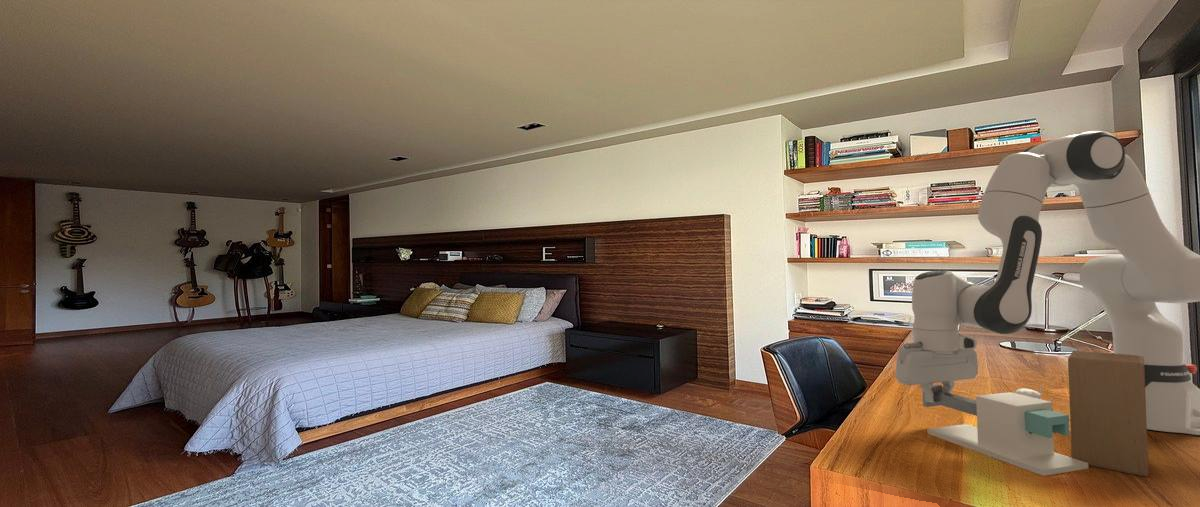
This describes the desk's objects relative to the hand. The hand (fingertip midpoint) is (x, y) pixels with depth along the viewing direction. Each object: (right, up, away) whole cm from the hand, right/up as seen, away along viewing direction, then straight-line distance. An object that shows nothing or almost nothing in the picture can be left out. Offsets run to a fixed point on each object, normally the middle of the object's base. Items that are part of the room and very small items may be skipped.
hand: (937, 401), depth 119 cm
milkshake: (+19, -6, -3) cm, 20 cm away
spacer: (+6, +3, -22) cm, 23 cm away
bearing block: (+4, -6, -14) cm, 15 cm away
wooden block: (+18, -6, -22) cm, 29 cm away
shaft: (+3, -1, -10) cm, 11 cm away
